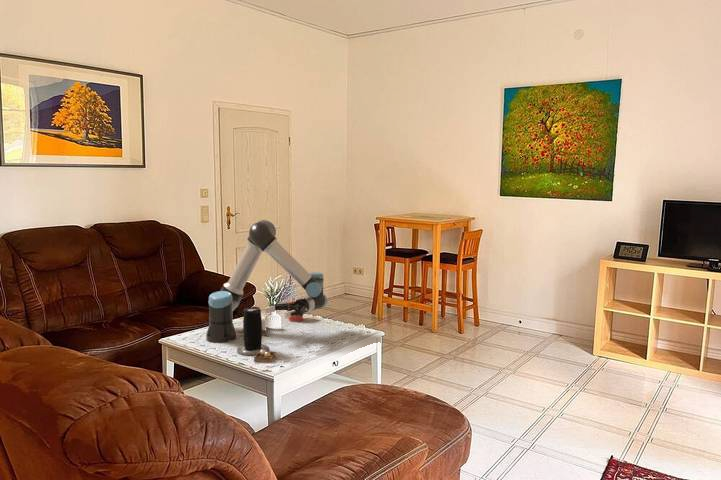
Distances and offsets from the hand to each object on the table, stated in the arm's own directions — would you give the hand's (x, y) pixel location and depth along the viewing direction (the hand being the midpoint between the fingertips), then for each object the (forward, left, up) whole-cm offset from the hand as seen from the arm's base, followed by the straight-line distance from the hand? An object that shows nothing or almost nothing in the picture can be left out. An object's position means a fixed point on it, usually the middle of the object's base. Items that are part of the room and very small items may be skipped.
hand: (275, 313), depth 270 cm
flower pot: (-49, -1, -17) cm, 52 cm away
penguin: (-28, -15, -17) cm, 36 cm away
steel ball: (+18, -1, -14) cm, 23 cm away
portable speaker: (+9, -9, -16) cm, 20 cm away
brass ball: (+21, +2, -14) cm, 26 cm away
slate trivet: (+9, -9, -17) cm, 21 cm away
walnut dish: (+20, 0, -17) cm, 26 cm away
